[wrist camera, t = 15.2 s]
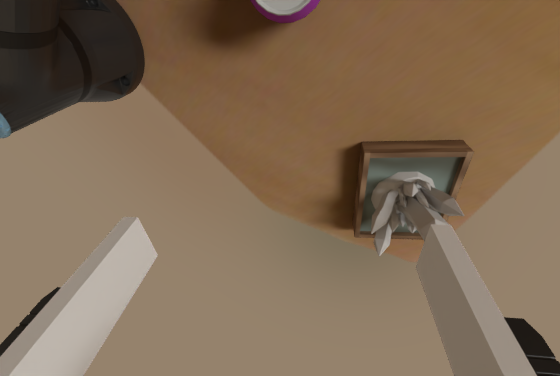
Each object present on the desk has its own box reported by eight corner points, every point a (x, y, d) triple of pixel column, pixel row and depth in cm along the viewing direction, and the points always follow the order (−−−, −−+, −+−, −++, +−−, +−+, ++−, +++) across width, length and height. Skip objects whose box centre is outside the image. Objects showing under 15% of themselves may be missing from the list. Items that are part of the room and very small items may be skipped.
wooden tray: (361, 141, 42) (364, 153, 39) (462, 140, 39) (474, 151, 37) (352, 223, 52) (354, 237, 49) (432, 225, 50) (439, 240, 47)
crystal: (349, 203, 45) (359, 277, 33) (419, 154, 39) (464, 226, 27) (385, 233, 49) (407, 311, 37) (456, 193, 42) (511, 273, 30)
